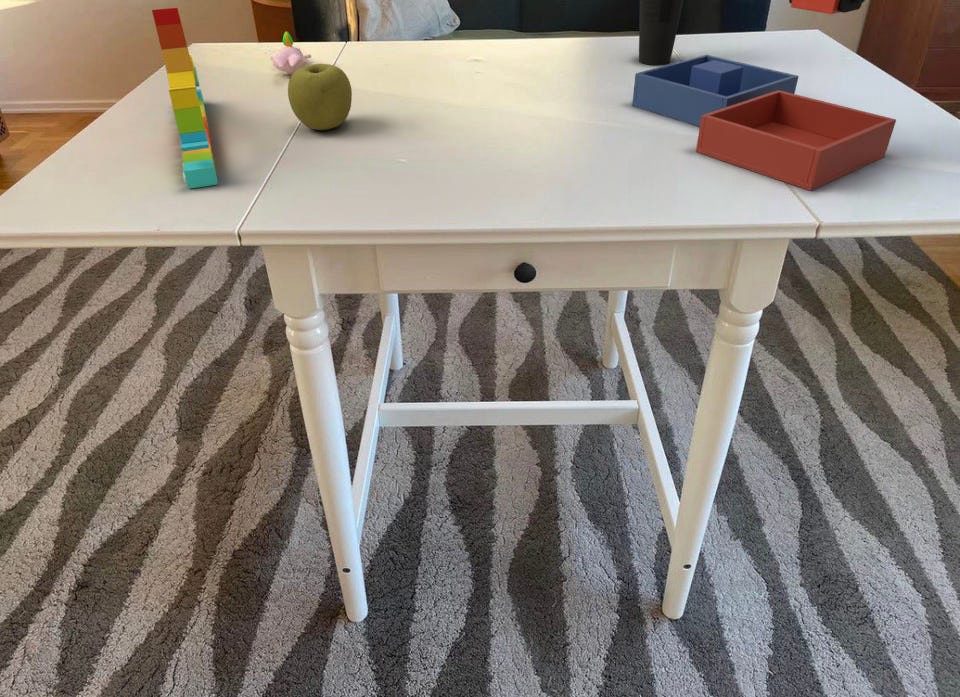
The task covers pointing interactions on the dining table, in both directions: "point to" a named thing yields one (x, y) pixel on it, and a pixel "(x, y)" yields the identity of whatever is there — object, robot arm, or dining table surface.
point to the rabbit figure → (289, 57)
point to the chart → (186, 101)
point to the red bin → (795, 138)
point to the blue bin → (678, 100)
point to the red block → (817, 5)
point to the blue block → (717, 77)
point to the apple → (320, 96)
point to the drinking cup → (658, 30)
